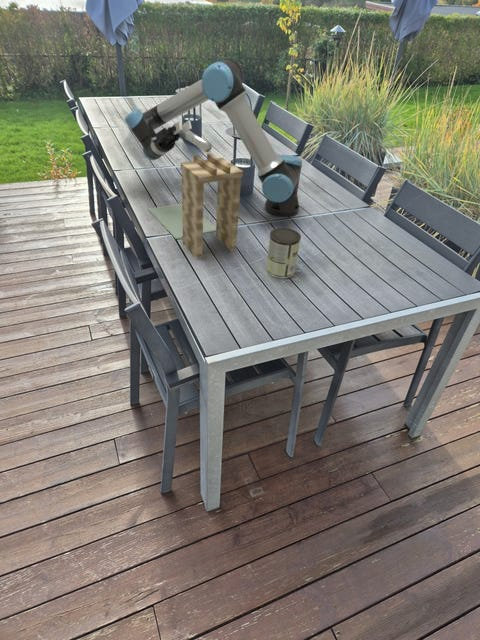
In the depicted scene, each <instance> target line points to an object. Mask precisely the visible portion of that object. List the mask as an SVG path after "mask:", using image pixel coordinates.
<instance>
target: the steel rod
mask: <svg viewBox="0 0 480 640" xmlns="http://www.w3.org/2000/svg"><path fill="white" fill-rule="evenodd" d="M176 123H177V122H175V123H173V125H175V124H176ZM181 126H182V125H181ZM178 134H179V135H181V136H182V137H184V138H185V139H186V141H189V142H190V143H191V144H193V145H195V146H196V147H198V148H199V149H201V150H202V151H204V152H205V153H210V151H211V150H212V143H210V142H209V141H208V140H206V139H204V138H202V137H201V136H199V135H198V134H196V133H194V132H193V131H192V130H191V129H190V130H188V129H186V128H185V127H183V126H182V130H181V131H179V132H178Z"/></svg>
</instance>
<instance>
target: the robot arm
mask: <svg viewBox="0 0 480 640" xmlns="http://www.w3.org/2000/svg"><path fill="white" fill-rule="evenodd" d="M244 77H245V76H244V69H243V67H242V66H241V64H240V63H239V61H237V60H235V59H233V58H223V59H221V60H219V61H215V62H212V64H210V65H209V66H208V67H207V68H206V69H205V70H204V71H203V74H202V76H201V79H199V80H197V81H196V82H194V83H192V84H191V85H189V86H188V87H185V88H183V90H181V91H179V92H177V93H175V94H174V95H171V96H170V97H169V98H167V99H165V100H163V101H162V102H160V103H158V104H157V105H155V106H154V107H151V108H150V109H148V110H146V111H144V112H142V111H141V109H139V108H136V109H134V110H133V111H131V112H130V113H128V114H127V115H126V116H125V118H124V121H125V124H126V125H127V127H128V128H129V130H130V131H131V133H132V134H133V135H134V136H135V138H136V139H137V141H138V143H140V145H141V147H142V152H143V155H144V157H145V158H146V159H147V160H149V161H156V160H158V159H161V157H164V156H165V154H167V153H168V152H170V151H171V150H173V149H174V147H175V146H176V142H178V141H179V140H180V139H181V140H182V141H187V139H185V138H184V137H182V136H181V135H179V134H178V132H179V131H181V130H182V126H183V127H185V128H186V129H188V130H190V131H191V130H192V128H193V127H192V122H191V119H190V120H187V121H186V122H184V123H183V124H182V122H181V121H182V120H178V121H176V122H175V123H176V124H175V123H174V124H175V125H174V124H173V125H172V126H171V127H170V126H169V127H168V128H166V127H164V128H162V129H161V130H159V131H158V132H156V131H155V130H156V129H158V128H160V127H162V126H164V125H166V124H168V122H170V121H172V120H174V119H176V118H179V116H182V115H183V114H185V113H187V112H189V111H191V110H192V109H194V108H196V107H198V106H200V105H202V104H204V103H205V102H207V101H209V100H210V101H211V102H214V104H215V105H216V107H217V109H218V111H222V112H224V113H225V114H226V116H227V117H228V120H229V121H230V123H231V124H232V126H233V128H234V129H235V131H236V133H237V135H238V137H239V138H240V140H241V142H242V143H243V145H244V147H245V148H246V151H247V152H248V154H249V155H250V157H251V159H252V160H253V162H254V165H255V166H256V167H257V169H258V170H257V177H258V179H259V180H260V182H261V184H262V185H261V190H262V194H263V195H264V197H265V198H266V200H265V203H264V210H265V211H266V212H267V213H269V214H271V215H274V216H279V217H292V216H296V215H297V214H298V213H299V211H300V203H299V202H300V201H299V196H298V190H299V185H300V179H301V171H302V167H303V160H302V159H301V157H298V156H295V155H291V154H277V153H276V152H275V150H274V148H273V146H272V144H271V143H270V141H269V139H268V137H267V136H266V133H265V132H264V130H263V127H261V125H260V123H259V121H258V119H257V117H256V115H255V113H254V112H253V110H252V109H251V107H250V104H249V103H248V101H247V100H246V93H247V90H246V89H245V86H244V85H243V82H244Z"/></svg>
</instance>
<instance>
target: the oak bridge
mask: <svg viewBox="0 0 480 640" xmlns="http://www.w3.org/2000/svg"><path fill="white" fill-rule="evenodd" d="M180 170H181V186H182V187H181V195H182V198H181V199H182V201H181V203H182V210H183V239H182V245H183V244H184V245H185V246H186V247H187V248H186V247H185V246H184V245H183V246H184V247H185V248H186V249H187V250H188V252H190V253H191V255H192V256H194V257H195V259H196V260H200V258H201V259H203V242H204V241H203V239H204V238H203V237H204V234H203V217H204V190H205V189H204V185H205V184H208V183H215V182H217V196H216V197H217V201H216V224H215V225H216V226H215V228H216V232H215V238H216V237H217V238H216V239H217V240H218V241H220V242H221V244H223V245H224V246H225V247H226V248H227V249H228V250H229V251H230V252H234V251H236V250H237V241H238V227H239V226H238V224H239V212H240V211H239V210H240V200H241V199H240V198H241V185H242V178H243V177H244V171H243V170H242V169H241V168H238V166H236V165H235V164H233V163H231V162H230V161H229V160H227V159H225V158H224V157H217V156H215V155H213V154H212V153H210V152H207V153H206V159H204V158H202V157H201V156H200V155H198V154H195V155H193V161H192V160H191V161H185V162H180Z"/></svg>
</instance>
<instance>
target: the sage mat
mask: <svg viewBox="0 0 480 640" xmlns="http://www.w3.org/2000/svg"><path fill="white" fill-rule="evenodd" d="M148 211H149V213H150V214H151V215H152V216H153V217H154V218H155V219H156V220H157V222H158V223H160V224H161V226H162V227H163V228H165V230H166V229H167V230H168V231H169V232H170V233H171V234H170V233H169V232H168V231H167V230H166V231H167V232H168V233H169V234H170V236H172V237H173V238H174V239H175V240H176V239H178V240H181V239H180V238H183V210H182V202H180V203H176V204H175V203H173V204H168V205H162V206H157V207H151V208H148ZM214 231H216V226H214V225H213V224H212V223H211V222H210V221H209V220H208V219H206V218H205V217H204V216H203V235H205V234H204V233H206V234H211V233H215V232H214ZM210 232H211V233H210Z"/></svg>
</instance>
